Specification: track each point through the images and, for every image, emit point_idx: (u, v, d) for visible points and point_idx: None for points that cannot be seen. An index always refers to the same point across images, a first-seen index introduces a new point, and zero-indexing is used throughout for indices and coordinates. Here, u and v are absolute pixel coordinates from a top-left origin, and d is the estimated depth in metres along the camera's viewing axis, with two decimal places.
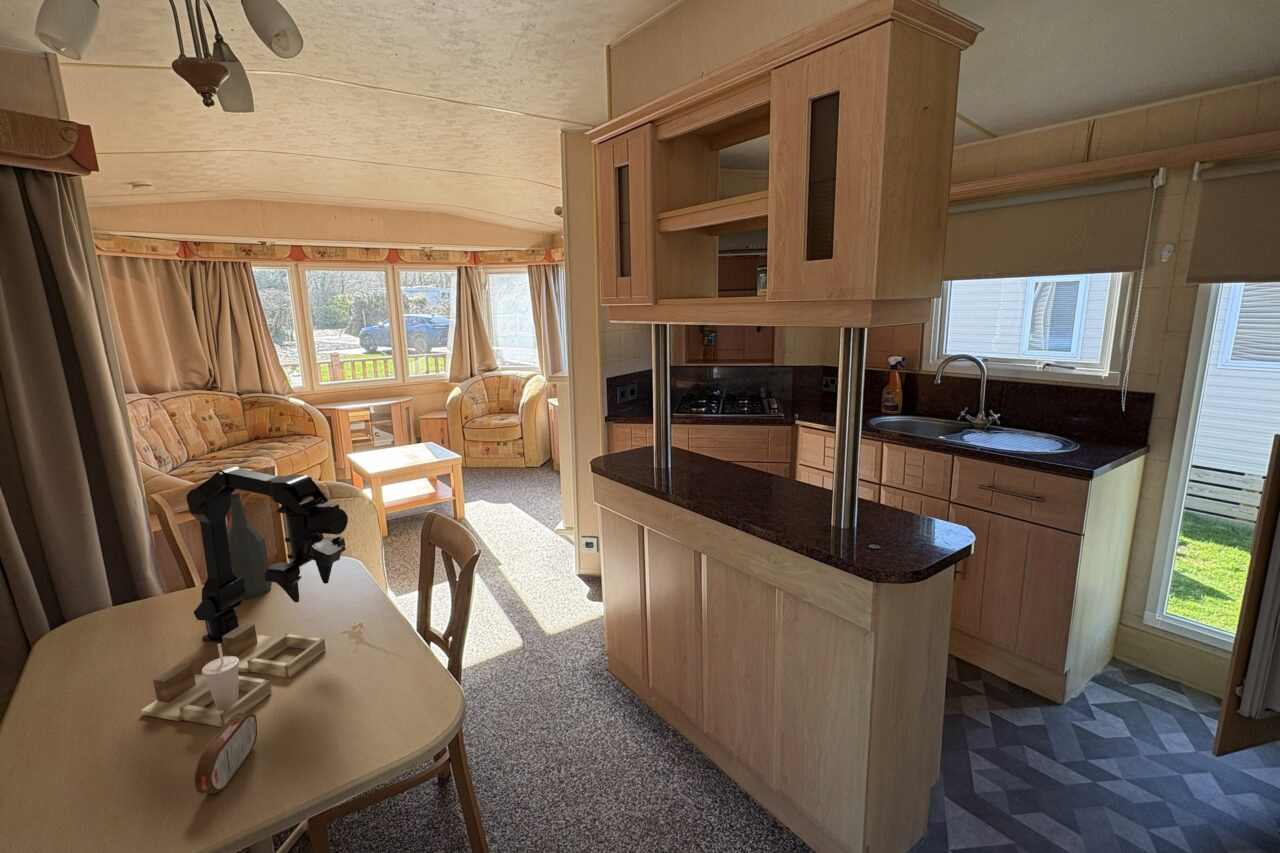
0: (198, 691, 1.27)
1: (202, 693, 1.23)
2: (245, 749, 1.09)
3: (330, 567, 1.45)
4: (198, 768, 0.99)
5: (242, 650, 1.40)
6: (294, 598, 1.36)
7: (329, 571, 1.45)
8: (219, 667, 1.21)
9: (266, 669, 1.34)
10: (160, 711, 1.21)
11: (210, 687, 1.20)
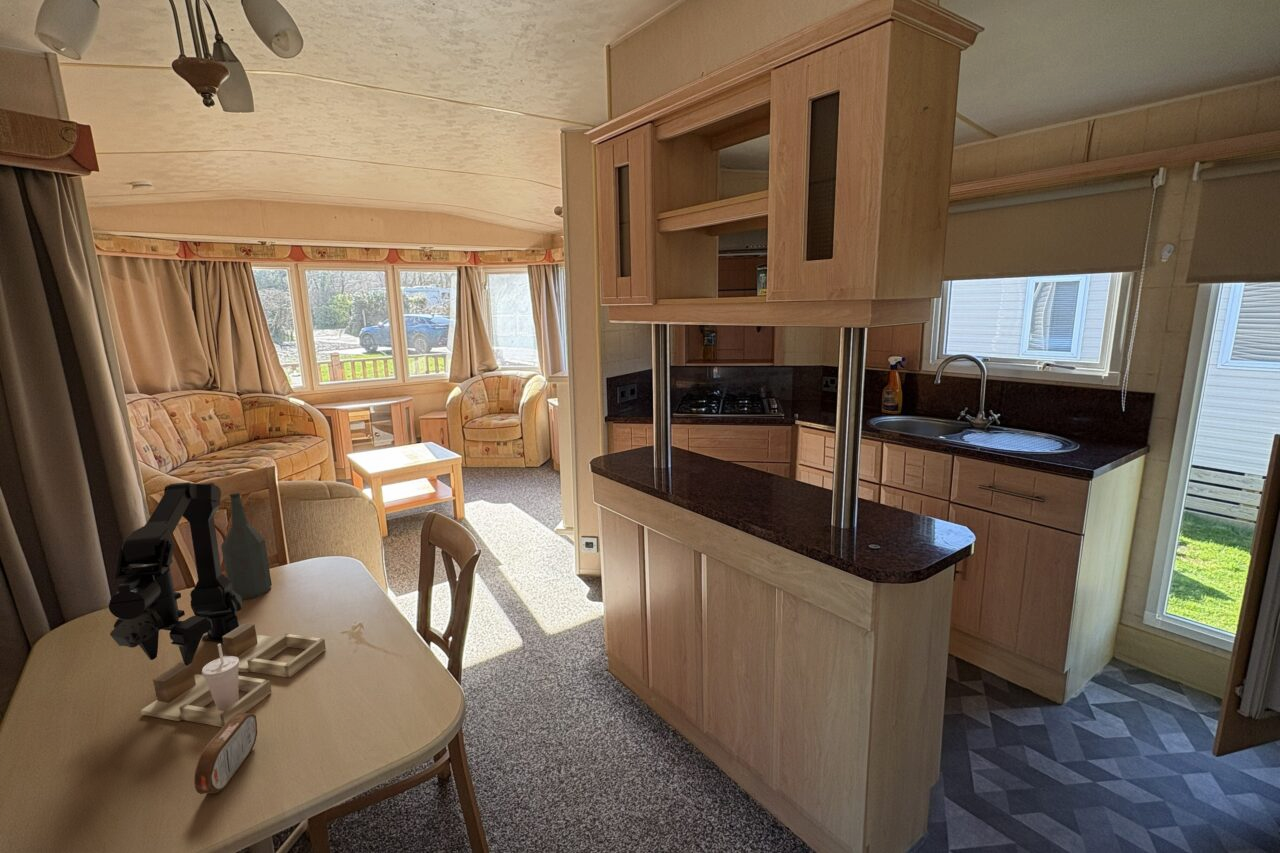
0: (198, 691, 1.27)
1: (202, 693, 1.23)
2: (245, 749, 1.09)
3: (182, 651, 1.22)
4: (197, 768, 0.99)
5: (242, 650, 1.40)
6: None
7: (182, 654, 1.22)
8: (219, 667, 1.21)
9: (266, 669, 1.34)
10: (160, 711, 1.21)
11: (210, 687, 1.20)
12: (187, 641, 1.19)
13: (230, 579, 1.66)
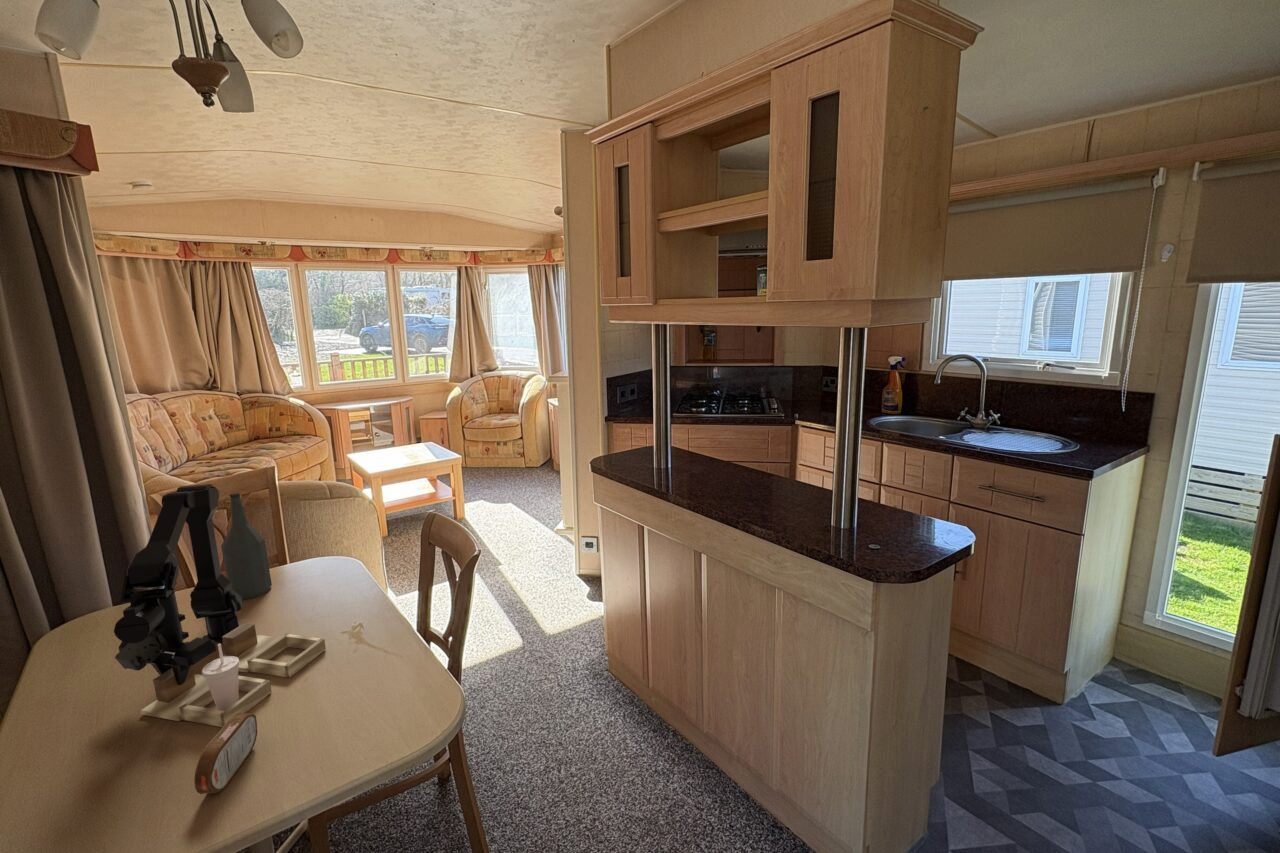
0: (198, 691, 1.27)
1: (202, 693, 1.23)
2: (245, 749, 1.09)
3: (175, 671, 1.23)
4: (197, 769, 0.99)
5: (242, 650, 1.40)
6: None
7: (175, 674, 1.24)
8: (219, 667, 1.21)
9: (266, 669, 1.34)
10: (160, 711, 1.21)
11: (210, 687, 1.20)
12: (191, 663, 1.20)
13: (230, 579, 1.66)
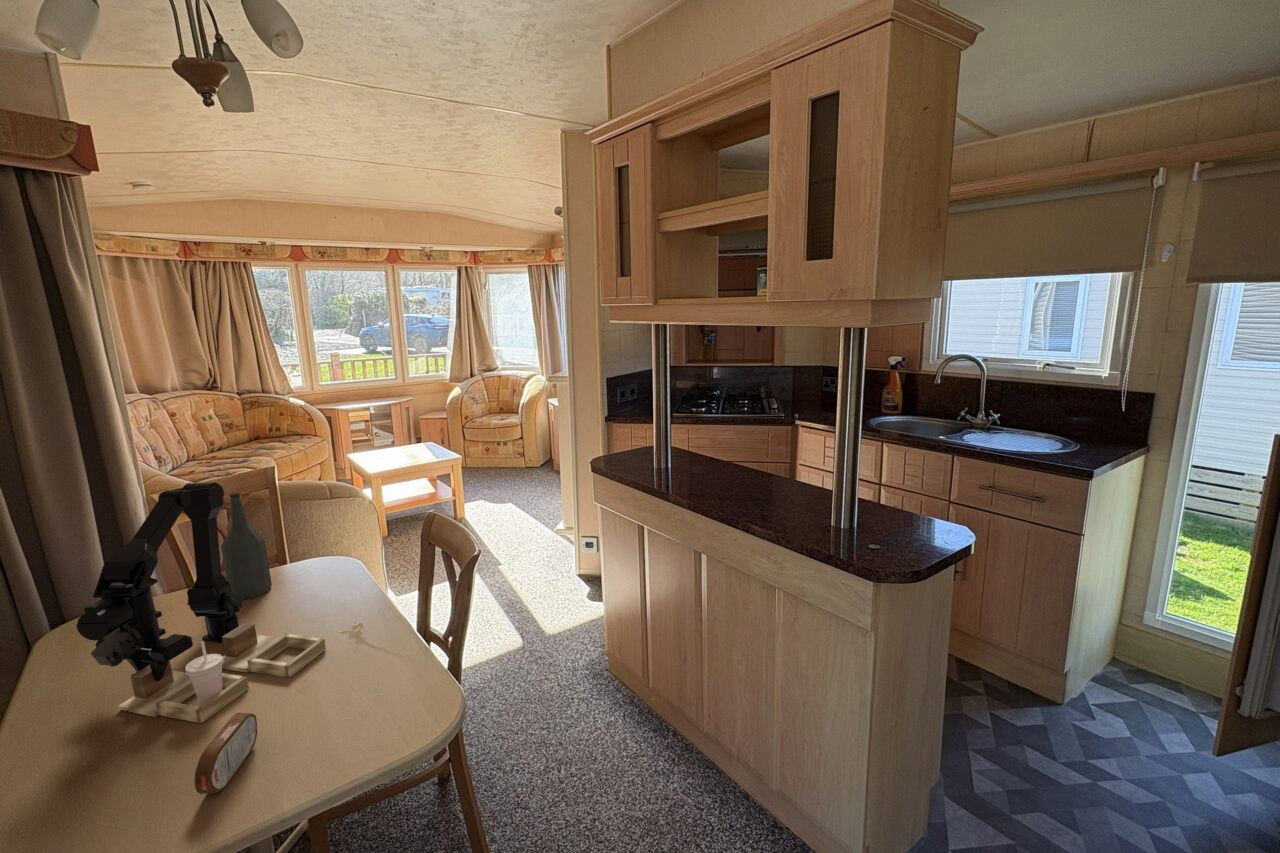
0: (176, 687, 1.28)
1: (179, 689, 1.25)
2: (245, 749, 1.09)
3: (152, 667, 1.25)
4: (198, 769, 0.99)
5: (242, 650, 1.40)
6: None
7: (153, 671, 1.25)
8: (202, 664, 1.22)
9: (266, 669, 1.34)
10: (137, 707, 1.22)
11: (193, 684, 1.21)
12: (167, 659, 1.21)
13: (230, 579, 1.66)
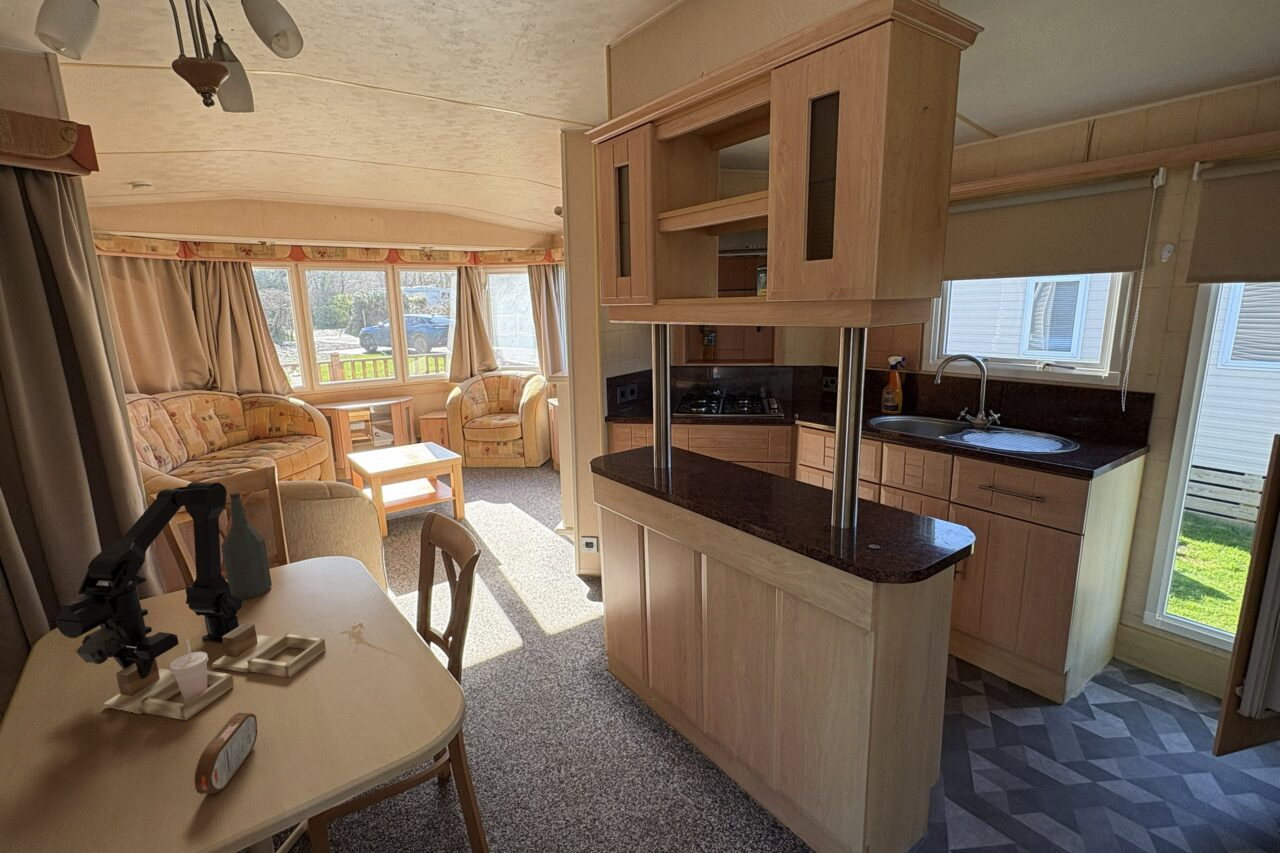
0: (161, 685, 1.29)
1: (164, 687, 1.25)
2: (245, 749, 1.09)
3: (138, 665, 1.25)
4: (198, 769, 0.99)
5: (242, 650, 1.40)
6: None
7: (138, 668, 1.26)
8: (187, 662, 1.22)
9: (266, 669, 1.34)
10: (122, 704, 1.23)
11: (178, 682, 1.22)
12: (152, 657, 1.22)
13: (230, 579, 1.66)
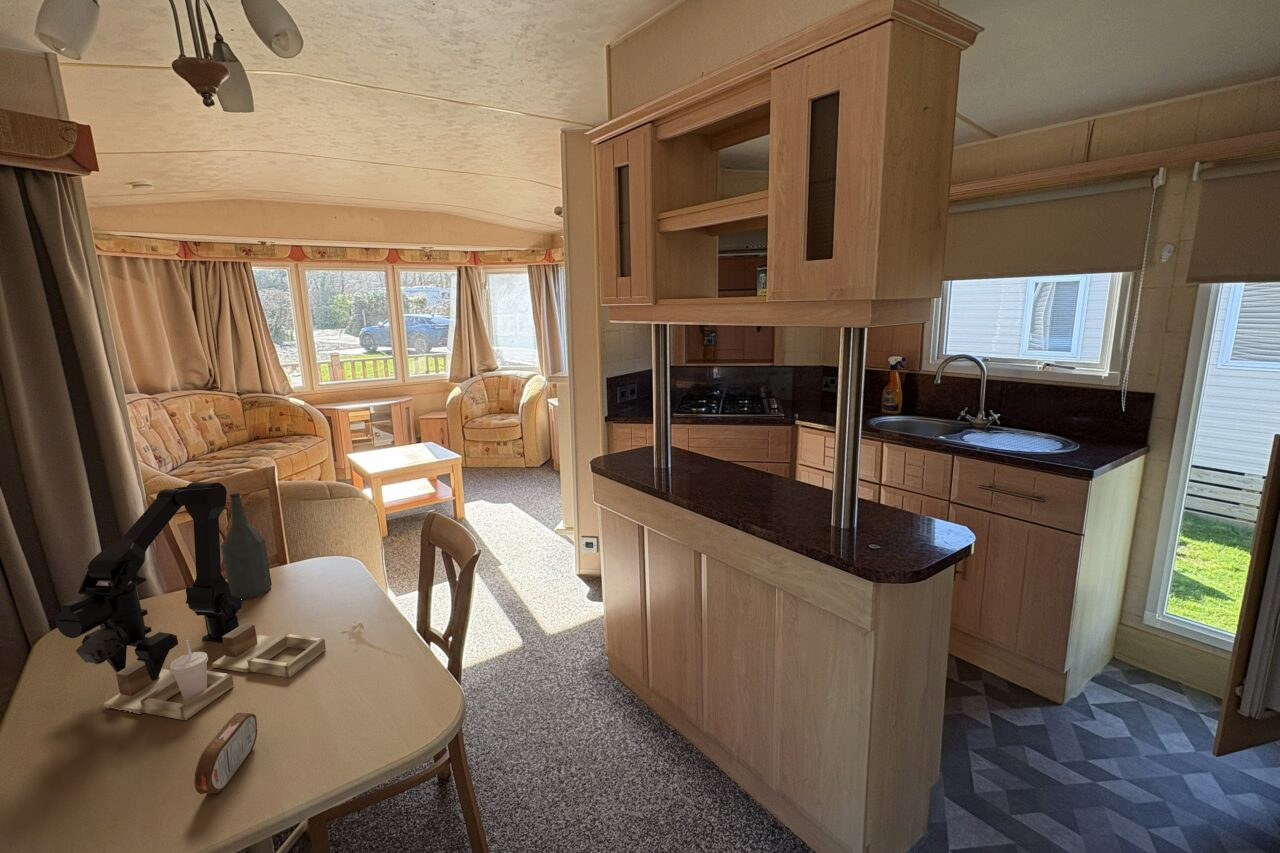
0: (161, 685, 1.29)
1: (164, 687, 1.25)
2: (245, 749, 1.09)
3: (148, 667, 1.25)
4: (198, 768, 0.99)
5: (242, 650, 1.40)
6: None
7: (148, 670, 1.25)
8: (187, 662, 1.22)
9: (266, 669, 1.34)
10: (122, 704, 1.23)
11: (178, 682, 1.22)
12: (152, 657, 1.22)
13: (230, 579, 1.66)
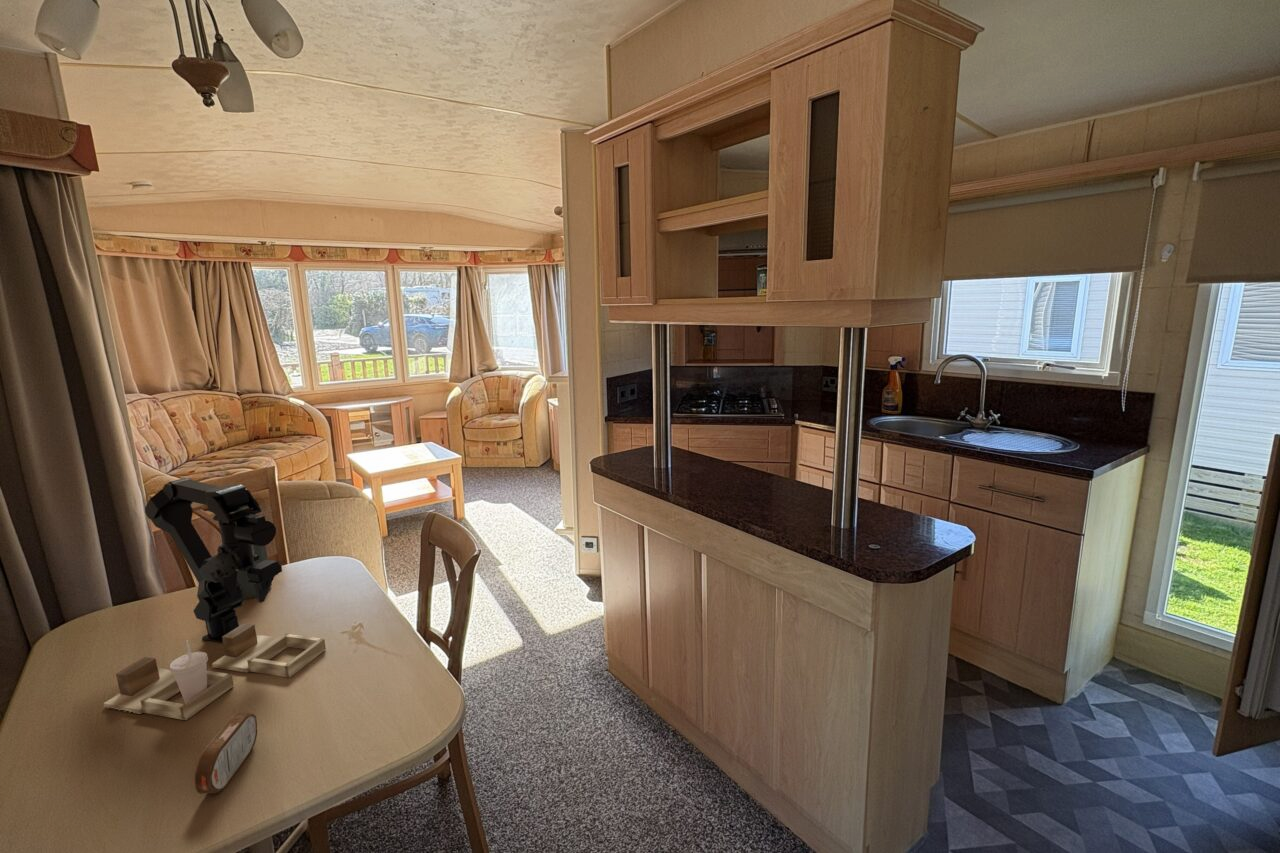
0: (161, 685, 1.29)
1: (164, 687, 1.25)
2: (245, 749, 1.09)
3: (257, 589, 1.39)
4: (198, 769, 0.99)
5: (242, 650, 1.40)
6: None
7: (257, 593, 1.40)
8: (187, 662, 1.22)
9: (266, 669, 1.34)
10: (122, 704, 1.23)
11: (178, 682, 1.22)
12: (261, 580, 1.36)
13: None
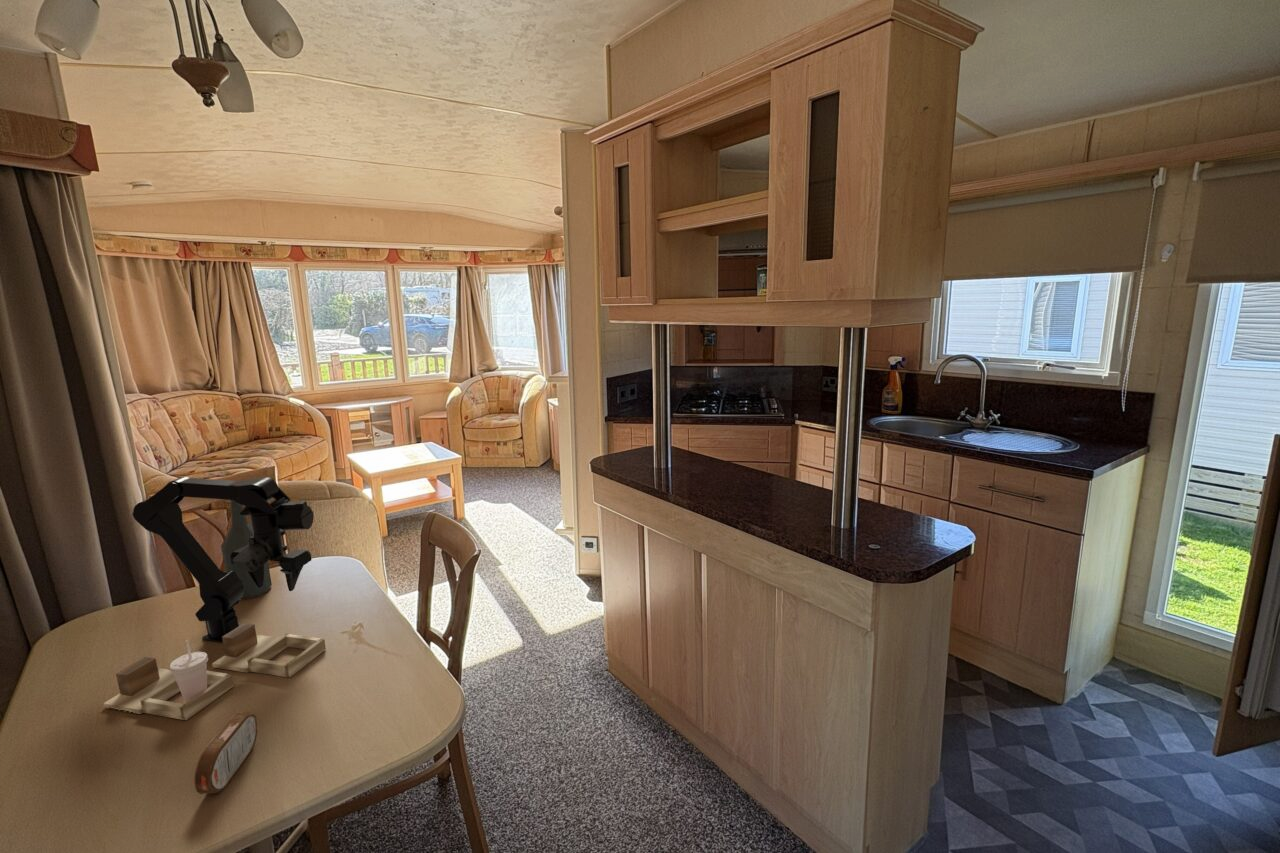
0: (161, 685, 1.29)
1: (164, 687, 1.25)
2: (245, 749, 1.09)
3: (288, 578, 1.45)
4: (198, 769, 0.99)
5: (242, 650, 1.40)
6: None
7: (288, 581, 1.45)
8: (187, 662, 1.22)
9: (266, 669, 1.34)
10: (122, 704, 1.23)
11: (178, 682, 1.22)
12: (294, 568, 1.42)
13: None
